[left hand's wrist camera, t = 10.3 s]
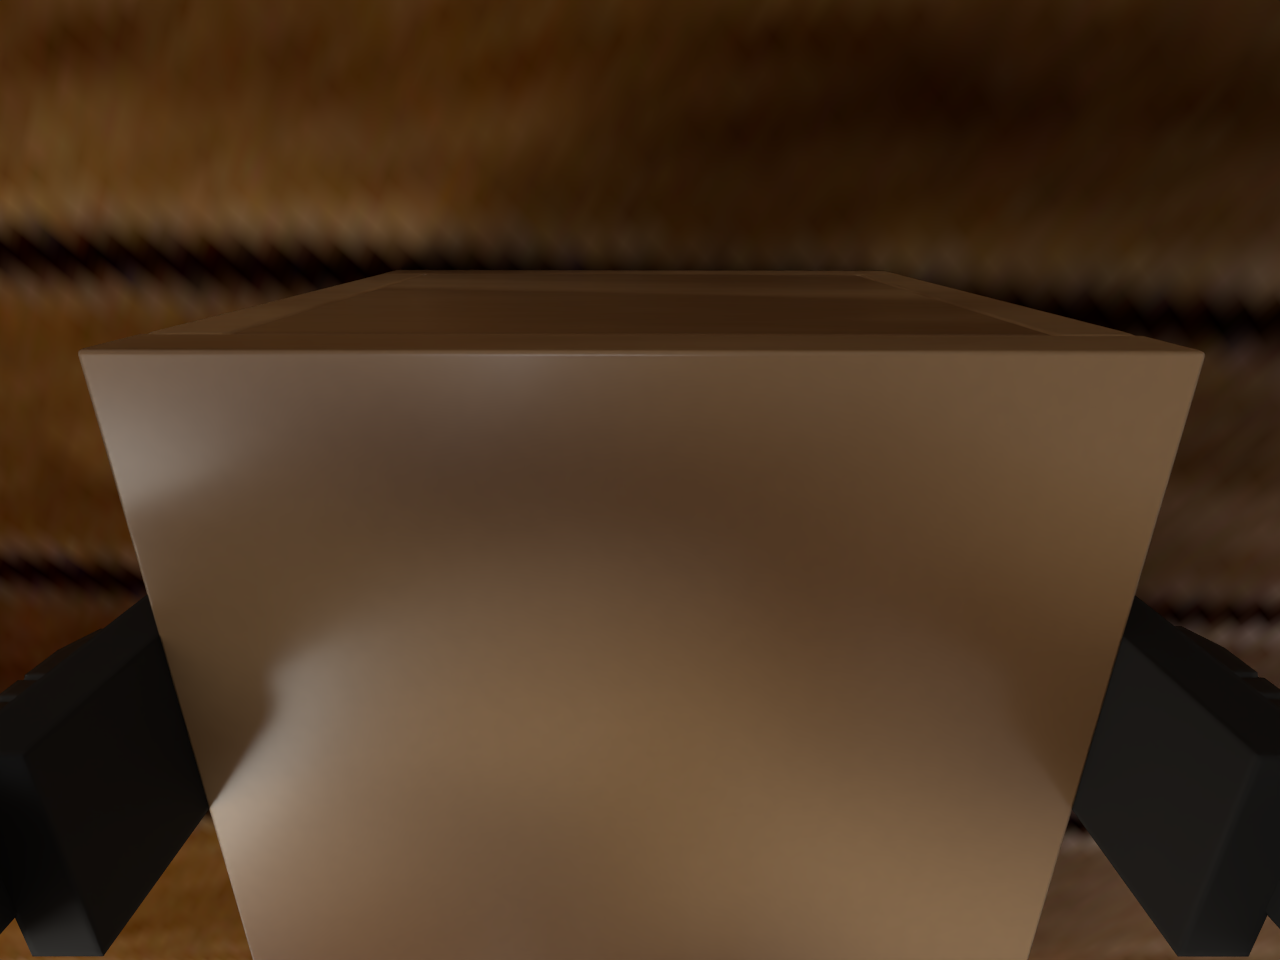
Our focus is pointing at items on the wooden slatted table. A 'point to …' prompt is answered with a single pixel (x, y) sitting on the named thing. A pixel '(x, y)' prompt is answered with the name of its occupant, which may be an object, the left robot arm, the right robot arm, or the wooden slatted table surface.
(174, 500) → the cabinet
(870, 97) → the wooden slatted table surface
